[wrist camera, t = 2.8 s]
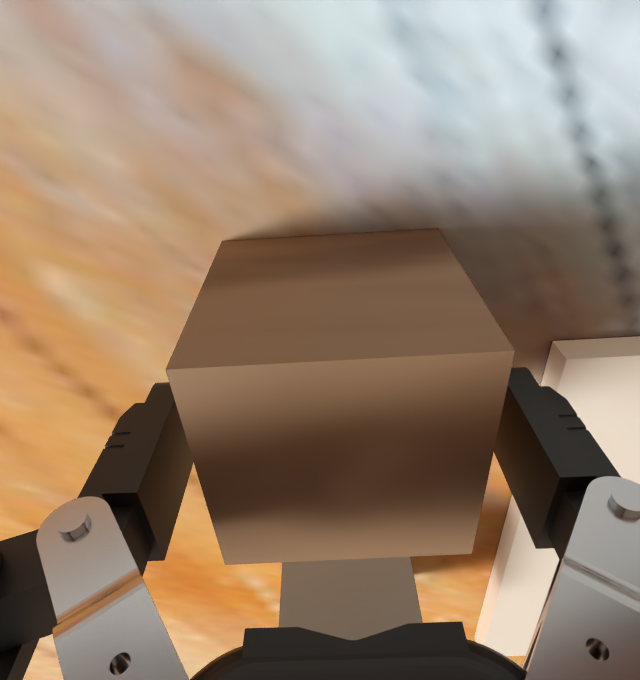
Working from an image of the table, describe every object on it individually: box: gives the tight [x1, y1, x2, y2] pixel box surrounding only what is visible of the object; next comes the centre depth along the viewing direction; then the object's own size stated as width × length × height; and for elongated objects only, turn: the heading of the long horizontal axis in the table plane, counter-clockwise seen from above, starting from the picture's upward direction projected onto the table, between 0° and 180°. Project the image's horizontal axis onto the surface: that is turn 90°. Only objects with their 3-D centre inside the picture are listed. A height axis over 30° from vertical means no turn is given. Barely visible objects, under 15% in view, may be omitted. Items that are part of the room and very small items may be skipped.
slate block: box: [279, 557, 423, 640], centre depth 19 cm, size 5×5×6 cm
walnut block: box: [166, 228, 515, 565], centre depth 12 cm, size 6×6×6 cm
